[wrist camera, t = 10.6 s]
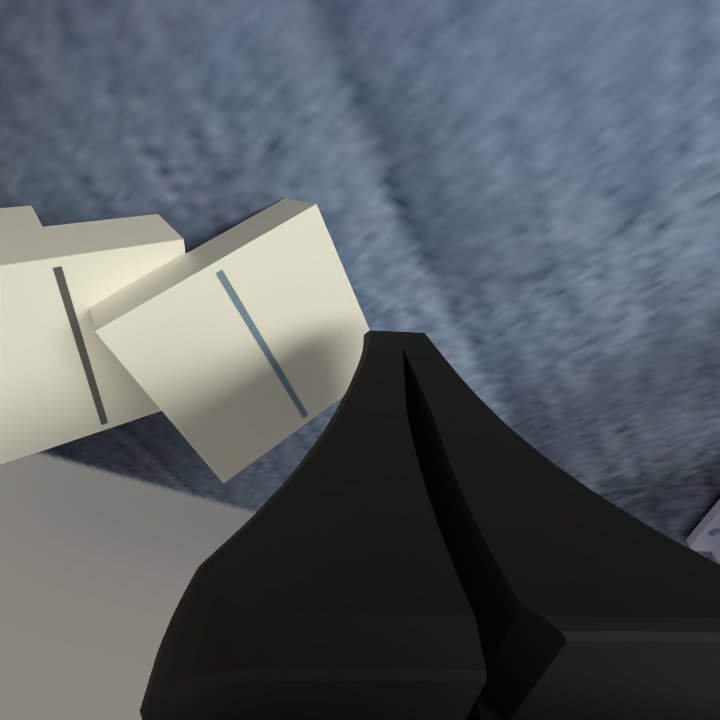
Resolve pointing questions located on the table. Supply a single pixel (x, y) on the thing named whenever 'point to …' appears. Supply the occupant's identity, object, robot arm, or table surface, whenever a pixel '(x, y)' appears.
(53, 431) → the domino
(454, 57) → the table surface
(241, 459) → the domino
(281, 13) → the table surface
